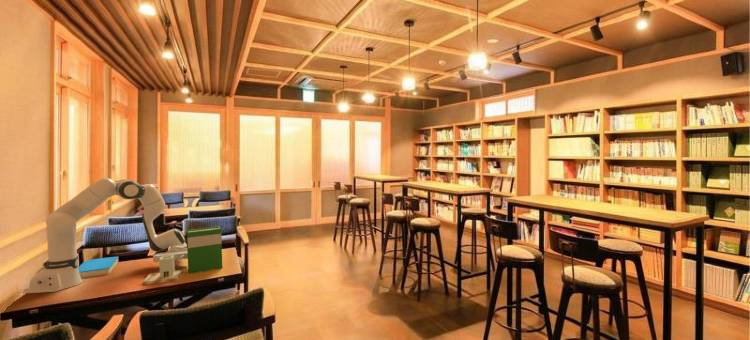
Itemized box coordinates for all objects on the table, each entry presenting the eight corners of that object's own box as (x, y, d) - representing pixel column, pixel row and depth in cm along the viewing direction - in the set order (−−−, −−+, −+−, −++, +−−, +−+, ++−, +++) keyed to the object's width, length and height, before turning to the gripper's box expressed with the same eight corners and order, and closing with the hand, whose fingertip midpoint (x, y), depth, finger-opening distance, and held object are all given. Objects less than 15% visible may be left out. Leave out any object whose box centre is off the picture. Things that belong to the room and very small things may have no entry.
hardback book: (189, 273, 194) (187, 232, 192) (188, 270, 200) (186, 230, 199) (222, 268, 203) (221, 228, 202) (220, 264, 209) (219, 226, 208)
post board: (142, 284, 178) (142, 269, 177) (150, 275, 191) (149, 261, 190) (177, 280, 183) (176, 265, 183) (182, 272, 196) (181, 257, 196)
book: (118, 256, 217) (109, 267, 195) (119, 262, 217) (110, 274, 195) (84, 260, 209) (71, 272, 187) (84, 267, 209) (71, 279, 187)
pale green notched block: (159, 277, 184) (159, 259, 183) (162, 273, 189) (161, 256, 189) (172, 276, 186) (171, 258, 185) (174, 272, 192) (174, 255, 191)
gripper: (155, 249, 204) (149, 256, 191) (193, 246, 211) (190, 252, 198) (156, 260, 205) (149, 267, 192) (194, 256, 212) (190, 263, 199)
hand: (170, 259), depth 195 cm, fingers open, 8 cm apart
